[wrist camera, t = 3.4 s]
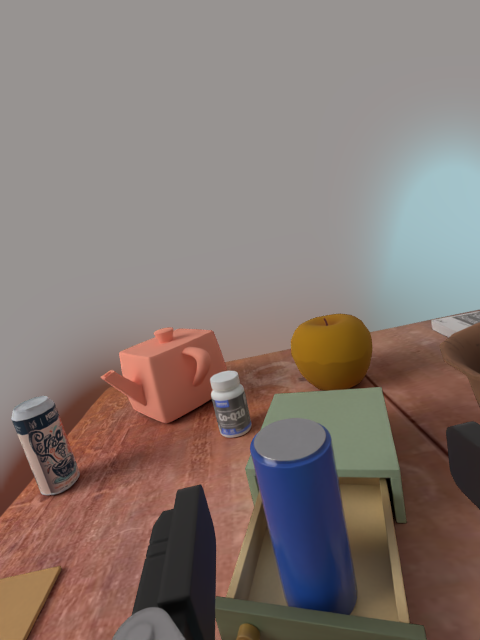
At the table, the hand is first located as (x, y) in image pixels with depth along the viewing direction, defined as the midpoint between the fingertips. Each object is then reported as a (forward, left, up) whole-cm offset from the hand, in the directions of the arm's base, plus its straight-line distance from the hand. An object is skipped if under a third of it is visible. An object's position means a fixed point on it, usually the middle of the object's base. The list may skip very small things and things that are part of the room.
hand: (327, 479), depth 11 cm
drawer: (+13, +4, -18) cm, 22 cm away
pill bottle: (+32, +17, -18) cm, 40 cm away
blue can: (+10, +4, -17) cm, 20 cm away
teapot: (+40, +32, -18) cm, 54 cm away
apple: (+45, +3, -18) cm, 48 cm away
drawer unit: (+24, +4, -18) cm, 30 cm away
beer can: (+20, +38, -18) cm, 47 cm away
